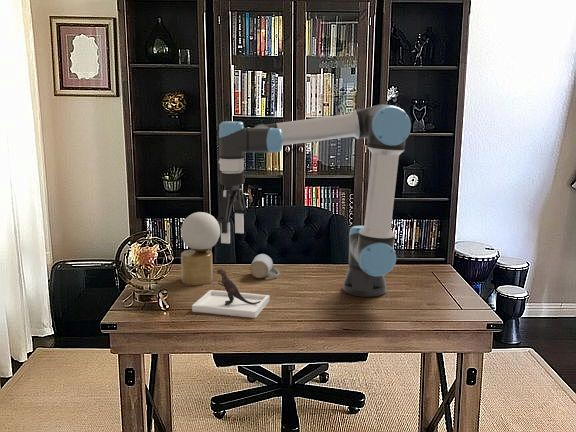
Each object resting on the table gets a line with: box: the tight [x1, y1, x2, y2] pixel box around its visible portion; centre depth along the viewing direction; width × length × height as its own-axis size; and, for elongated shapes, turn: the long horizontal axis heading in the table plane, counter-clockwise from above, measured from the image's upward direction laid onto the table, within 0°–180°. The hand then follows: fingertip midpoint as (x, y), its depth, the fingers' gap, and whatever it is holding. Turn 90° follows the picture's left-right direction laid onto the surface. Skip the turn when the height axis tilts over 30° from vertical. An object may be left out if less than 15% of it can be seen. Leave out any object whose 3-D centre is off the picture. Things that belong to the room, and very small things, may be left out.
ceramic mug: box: [249, 253, 280, 279], centre depth 238 cm, size 11×8×8 cm
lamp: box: [180, 211, 221, 286], centre depth 232 cm, size 15×14×25 cm
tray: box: [191, 289, 271, 319], centre depth 207 cm, size 21×16×2 cm
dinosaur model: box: [216, 267, 261, 305], centre depth 206 cm, size 4×12×15 cm
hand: (232, 237), depth 203 cm, fingers open, 13 cm apart
